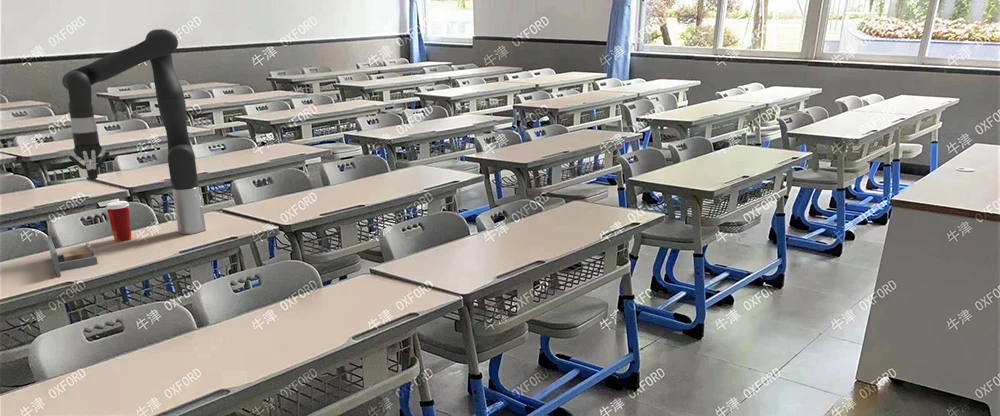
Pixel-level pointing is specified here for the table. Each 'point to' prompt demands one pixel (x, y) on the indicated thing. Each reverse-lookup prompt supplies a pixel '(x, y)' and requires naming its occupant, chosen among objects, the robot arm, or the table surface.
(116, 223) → the paper cup
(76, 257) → the walnut cart
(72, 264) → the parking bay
